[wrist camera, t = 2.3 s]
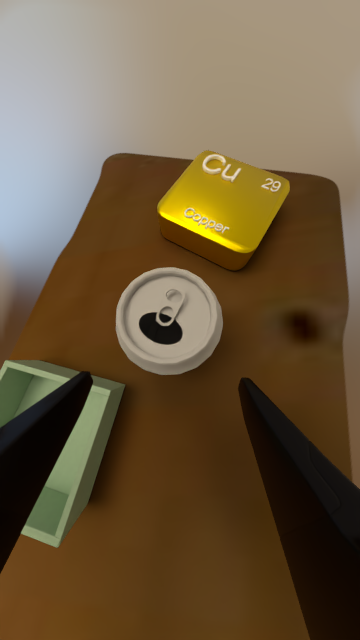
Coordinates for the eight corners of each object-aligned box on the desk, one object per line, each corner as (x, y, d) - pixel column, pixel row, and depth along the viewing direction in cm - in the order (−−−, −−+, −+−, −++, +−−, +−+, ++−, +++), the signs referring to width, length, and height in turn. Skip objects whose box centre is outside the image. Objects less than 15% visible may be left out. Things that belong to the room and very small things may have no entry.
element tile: (155, 235, 25) (149, 206, 20) (200, 178, 28) (204, 142, 24) (239, 276, 23) (253, 255, 18) (277, 209, 26) (298, 176, 21)
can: (138, 353, 20) (78, 342, 9) (163, 304, 22) (140, 241, 10) (190, 378, 19) (200, 403, 8) (212, 325, 21) (247, 280, 9)
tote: (87, 504, 16) (57, 548, 12) (-12, 468, 17) (-68, 499, 13) (125, 384, 19) (111, 390, 15) (39, 360, 20) (5, 360, 16)
